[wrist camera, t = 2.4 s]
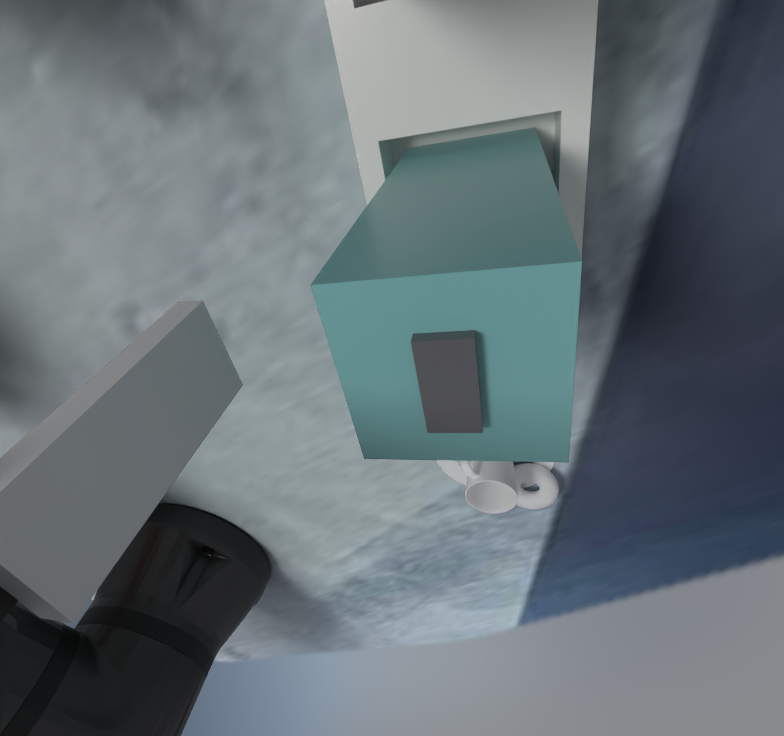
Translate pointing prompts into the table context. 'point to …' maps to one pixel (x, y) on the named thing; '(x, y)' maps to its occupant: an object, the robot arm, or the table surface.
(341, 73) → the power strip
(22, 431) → the table surface
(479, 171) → the block
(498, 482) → the teacup and saucer
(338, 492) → the table surface
